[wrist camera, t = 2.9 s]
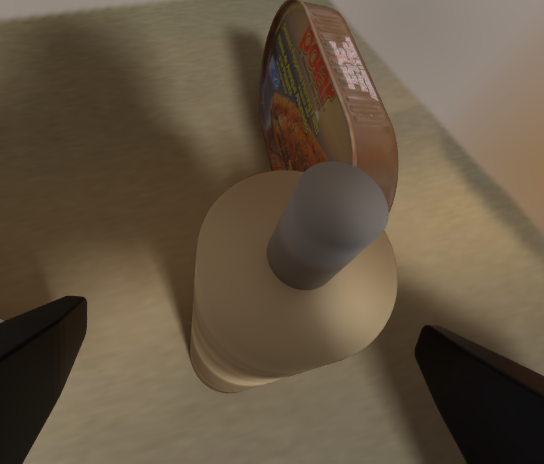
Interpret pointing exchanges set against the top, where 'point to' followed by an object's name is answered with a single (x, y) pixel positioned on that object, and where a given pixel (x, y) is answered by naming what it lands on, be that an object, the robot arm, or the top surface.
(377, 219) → the tall beige lotion bottle
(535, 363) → the top surface
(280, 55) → the tin
